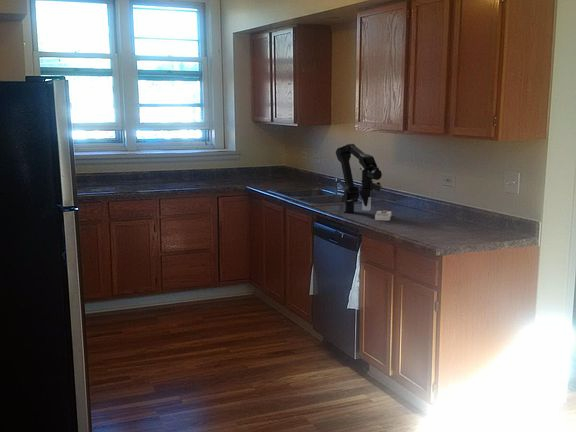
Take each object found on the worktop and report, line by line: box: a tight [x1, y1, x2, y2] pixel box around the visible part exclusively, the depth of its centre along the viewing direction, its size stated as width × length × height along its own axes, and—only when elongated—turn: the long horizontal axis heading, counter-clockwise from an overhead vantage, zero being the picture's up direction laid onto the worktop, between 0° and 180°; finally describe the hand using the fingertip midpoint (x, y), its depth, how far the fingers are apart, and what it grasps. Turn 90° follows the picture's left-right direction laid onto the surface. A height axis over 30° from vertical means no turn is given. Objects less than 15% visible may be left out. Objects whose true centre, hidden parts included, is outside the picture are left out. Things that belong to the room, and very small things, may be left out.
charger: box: [361, 196, 372, 211], centre depth 369 cm, size 4×4×7 cm
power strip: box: [374, 209, 392, 221], centre depth 365 cm, size 16×8×3 cm, turn 168°
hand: (366, 205), depth 370 cm, fingers closed on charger, 4 cm apart
